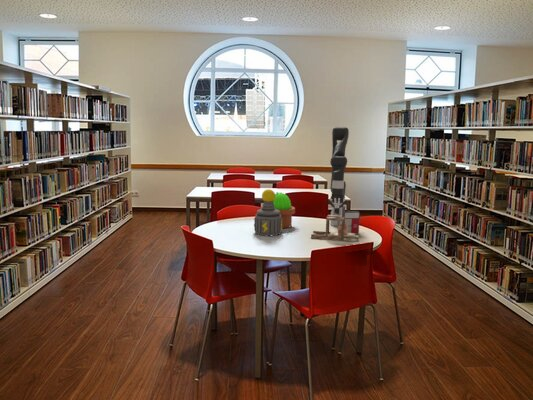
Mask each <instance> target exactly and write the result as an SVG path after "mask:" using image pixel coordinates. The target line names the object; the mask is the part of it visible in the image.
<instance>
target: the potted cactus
mask: <svg viewBox="0 0 533 400" xmlns="http://www.w3.org/2000/svg"><path fill="white" fill-rule="evenodd" d="M273 202H274V203H273V204H274V207H275V209H277V210H279V211H280V215H281V218H282V229H287V228H290V227H292V221H293V217H292V216H293V215H294V214H295V213H296V207H295V206H292V203H291V199H290V198H289V196H288V195H287V194H286V193H284V192H275V200H274V201H273Z"/></svg>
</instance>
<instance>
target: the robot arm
mask: <svg viewBox="0 0 533 400" xmlns="http://www.w3.org/2000/svg"><path fill="white" fill-rule="evenodd" d="M349 133H350V132H349V128H348V127H346V126H334V127H333V128H332V132H331V135H332V139H331V141H332V142H331V143H332V144H331V145H332V149H331V150H332V152H331V153H332V154H331V158H330V164H329V165H330V166H331V177H330V179H331V180H330V192H331V196H330V198H328V199H327V202H328V203H329V205H330V206H331V211H330V215H342V206H345V204H347V202H348V199H346V188H347V186H346V185H347V184H346V181H344V179H345V178H344V177H345V170H346V168H347V163H348V159H347V157H346V147H347V144H348V141H349ZM338 141H339V142H338ZM345 207H346V206H345ZM338 224H342V221H332V220H330V224H329V226H332V227H338Z"/></svg>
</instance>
